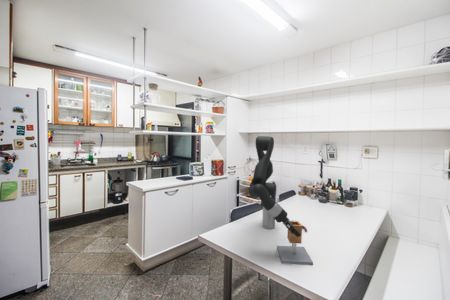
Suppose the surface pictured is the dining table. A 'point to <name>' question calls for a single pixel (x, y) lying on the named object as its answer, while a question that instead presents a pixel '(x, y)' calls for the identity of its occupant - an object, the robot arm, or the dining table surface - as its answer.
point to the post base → (294, 255)
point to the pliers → (303, 228)
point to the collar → (292, 236)
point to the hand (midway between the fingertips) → (297, 233)
